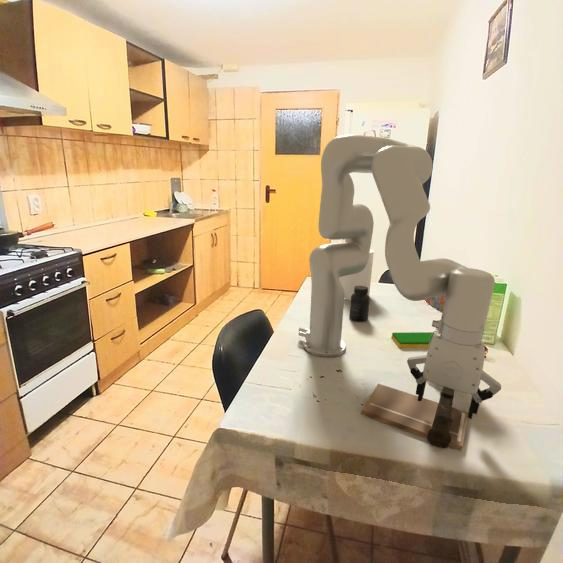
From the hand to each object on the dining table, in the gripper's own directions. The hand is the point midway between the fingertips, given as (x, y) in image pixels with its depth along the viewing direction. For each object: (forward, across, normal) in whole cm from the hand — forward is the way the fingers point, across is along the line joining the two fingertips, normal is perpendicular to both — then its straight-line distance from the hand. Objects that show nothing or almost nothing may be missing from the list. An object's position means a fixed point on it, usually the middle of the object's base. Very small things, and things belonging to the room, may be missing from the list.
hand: (444, 406), depth 74 cm
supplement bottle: (+6, -34, +45) cm, 57 cm away
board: (+5, -5, 0) cm, 7 cm away
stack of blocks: (+6, -15, +80) cm, 82 cm away
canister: (+6, -45, +69) cm, 83 cm away
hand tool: (+4, 0, 0) cm, 4 cm away
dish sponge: (+6, -12, +37) cm, 39 cm away
